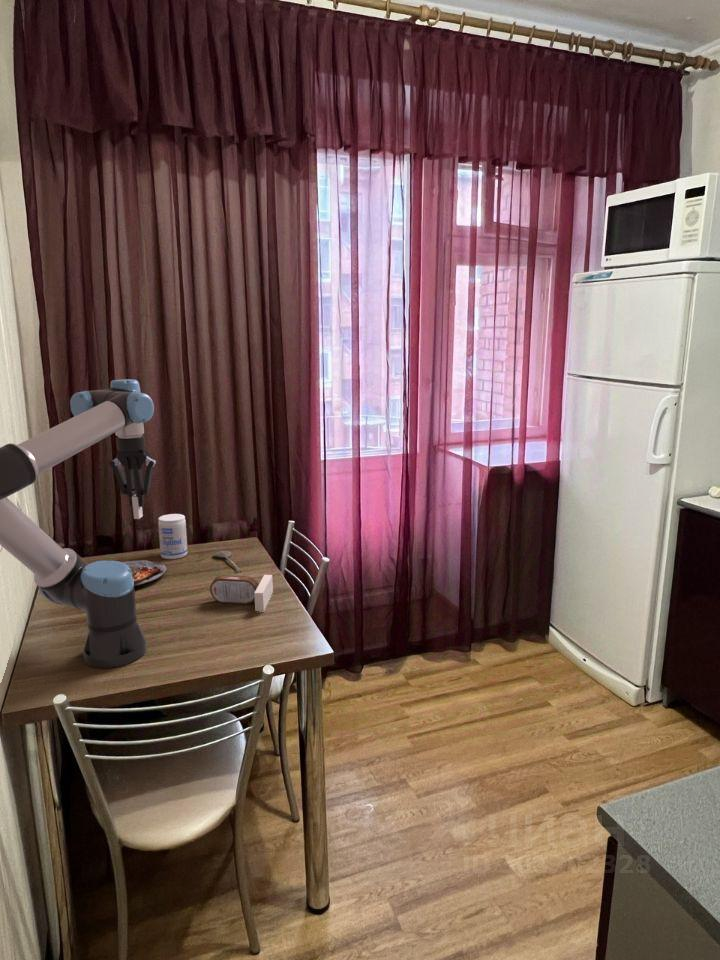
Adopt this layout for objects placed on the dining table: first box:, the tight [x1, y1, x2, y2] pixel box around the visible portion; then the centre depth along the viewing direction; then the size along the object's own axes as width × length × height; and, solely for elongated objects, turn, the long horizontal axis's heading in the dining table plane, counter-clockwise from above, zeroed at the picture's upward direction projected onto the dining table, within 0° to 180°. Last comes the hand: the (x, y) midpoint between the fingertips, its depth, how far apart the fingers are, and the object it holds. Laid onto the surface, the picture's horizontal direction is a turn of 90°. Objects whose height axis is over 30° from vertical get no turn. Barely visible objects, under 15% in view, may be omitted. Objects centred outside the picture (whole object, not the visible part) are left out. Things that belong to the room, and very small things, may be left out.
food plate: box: [121, 559, 168, 587], centre depth 211 cm, size 25×23×4 cm
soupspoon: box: [212, 550, 242, 573], centre depth 224 cm, size 22×3×7 cm
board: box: [254, 574, 274, 613], centre depth 190 cm, size 14×2×6 cm, turn 177°
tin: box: [209, 574, 260, 605], centre depth 190 cm, size 15×3×8 cm, turn 82°
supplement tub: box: [157, 513, 188, 560], centre depth 231 cm, size 10×10×15 cm
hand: (138, 517), depth 181 cm, fingers closed
